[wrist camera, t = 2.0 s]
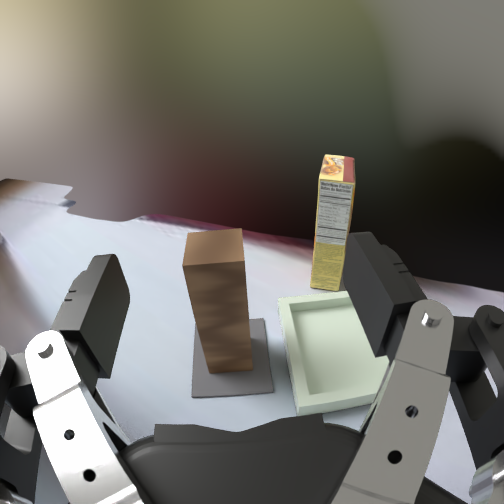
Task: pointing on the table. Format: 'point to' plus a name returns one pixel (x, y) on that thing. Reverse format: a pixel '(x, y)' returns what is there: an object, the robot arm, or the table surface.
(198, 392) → the mat
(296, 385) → the dish
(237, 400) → the table surface
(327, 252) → the candy box
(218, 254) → the block
